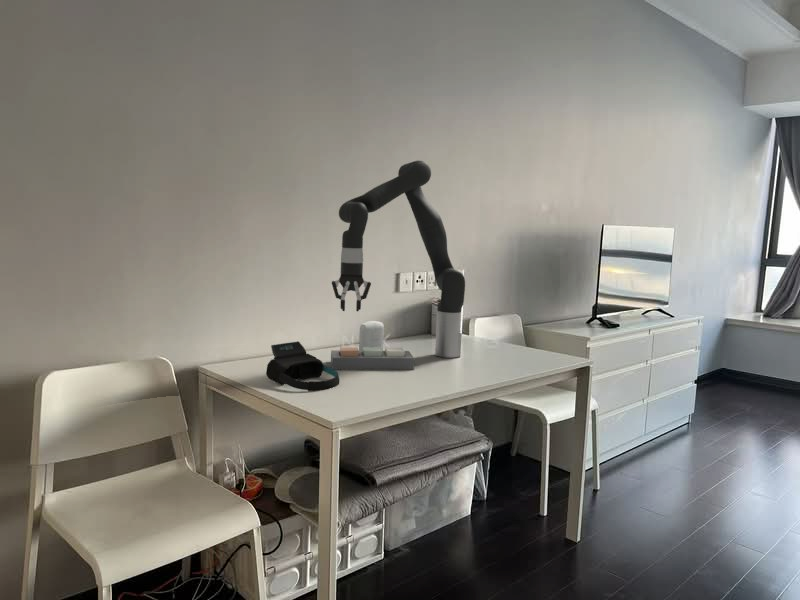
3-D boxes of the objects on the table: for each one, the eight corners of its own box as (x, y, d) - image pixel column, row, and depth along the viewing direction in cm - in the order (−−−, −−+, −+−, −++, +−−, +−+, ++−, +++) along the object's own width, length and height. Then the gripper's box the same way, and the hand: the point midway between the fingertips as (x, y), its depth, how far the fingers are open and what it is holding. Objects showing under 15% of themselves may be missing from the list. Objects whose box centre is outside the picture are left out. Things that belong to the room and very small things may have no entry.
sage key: (379, 355, 223) (379, 347, 223) (381, 358, 217) (381, 351, 217) (362, 355, 222) (362, 347, 222) (364, 358, 216) (364, 350, 216)
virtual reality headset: (302, 368, 209) (307, 339, 206) (349, 391, 195) (354, 361, 193) (257, 376, 194) (261, 346, 192) (304, 402, 181) (309, 370, 179)
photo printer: (377, 350, 246) (378, 319, 245) (384, 352, 243) (385, 320, 242) (357, 353, 239) (358, 321, 238) (364, 355, 236) (365, 323, 235)
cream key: (401, 355, 225) (401, 347, 224) (404, 359, 219) (404, 351, 218) (385, 355, 224) (385, 347, 223) (387, 359, 218) (387, 351, 217)
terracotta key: (356, 355, 222) (357, 347, 222) (358, 358, 216) (358, 350, 216) (339, 355, 221) (340, 347, 221) (340, 358, 215) (341, 350, 215)
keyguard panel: (408, 361, 228) (408, 350, 228) (413, 369, 217) (414, 358, 216) (330, 361, 224) (331, 350, 223) (332, 369, 212) (332, 357, 212)
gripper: (371, 261, 219) (369, 309, 221) (330, 259, 217) (329, 309, 219) (373, 262, 212) (372, 312, 214) (331, 261, 210) (330, 312, 212)
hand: (350, 310), depth 217 cm, fingers open, 4 cm apart
